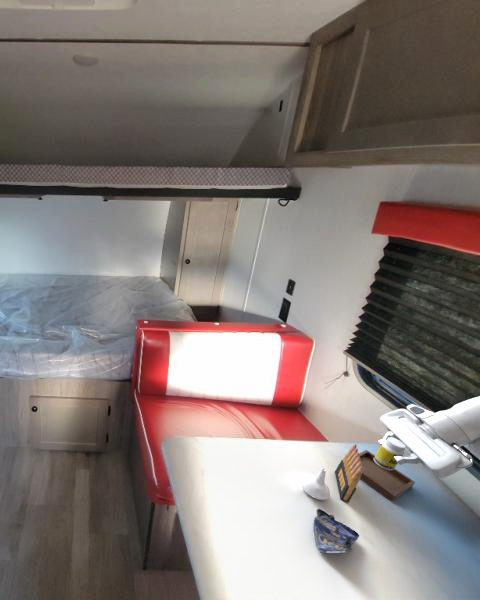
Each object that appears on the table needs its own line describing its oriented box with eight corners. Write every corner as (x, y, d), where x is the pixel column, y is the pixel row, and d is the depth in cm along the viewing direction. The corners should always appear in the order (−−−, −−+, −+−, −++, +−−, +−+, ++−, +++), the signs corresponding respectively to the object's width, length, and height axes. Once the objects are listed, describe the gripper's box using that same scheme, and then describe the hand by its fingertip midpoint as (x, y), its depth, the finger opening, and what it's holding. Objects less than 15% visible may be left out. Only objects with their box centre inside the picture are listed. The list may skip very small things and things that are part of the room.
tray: (411, 487, 96) (415, 482, 96) (391, 501, 91) (394, 496, 90) (363, 454, 106) (366, 449, 106) (342, 465, 101) (345, 460, 100)
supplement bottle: (386, 472, 94) (400, 450, 91) (369, 458, 98) (381, 437, 95) (397, 469, 96) (411, 447, 92) (380, 456, 100) (393, 435, 97)
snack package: (288, 516, 84) (329, 566, 73) (300, 497, 82) (344, 546, 71) (323, 516, 87) (367, 565, 76) (336, 498, 85) (383, 545, 74)
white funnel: (307, 500, 88) (318, 478, 85) (296, 480, 94) (306, 459, 91) (331, 505, 88) (344, 483, 85) (319, 484, 94) (330, 463, 91)
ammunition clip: (348, 503, 89) (367, 470, 85) (340, 499, 90) (359, 466, 85) (342, 474, 98) (359, 443, 93) (334, 471, 99) (351, 440, 94)
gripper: (483, 470, 82) (422, 491, 87) (415, 414, 101) (368, 433, 105) (474, 454, 81) (413, 476, 85) (407, 400, 100) (359, 420, 104)
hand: (387, 452), depth 95 cm, fingers closed on supplement bottle, 5 cm apart
